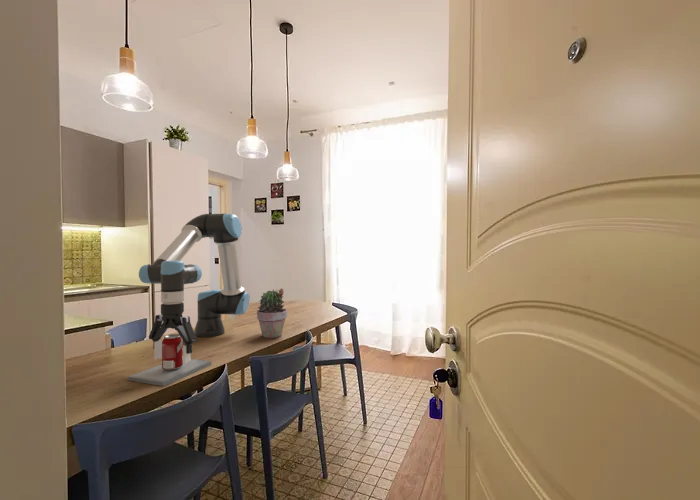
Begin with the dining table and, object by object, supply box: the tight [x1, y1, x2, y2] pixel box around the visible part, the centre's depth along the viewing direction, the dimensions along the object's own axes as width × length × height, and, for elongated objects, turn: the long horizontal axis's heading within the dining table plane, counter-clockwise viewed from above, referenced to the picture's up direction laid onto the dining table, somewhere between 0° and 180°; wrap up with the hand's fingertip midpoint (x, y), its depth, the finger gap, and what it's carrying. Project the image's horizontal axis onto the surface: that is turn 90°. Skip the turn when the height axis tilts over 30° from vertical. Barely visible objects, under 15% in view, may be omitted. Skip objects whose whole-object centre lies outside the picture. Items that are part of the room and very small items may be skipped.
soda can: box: [161, 333, 184, 371], centre depth 123 cm, size 7×7×12 cm
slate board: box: [127, 358, 212, 387], centre depth 123 cm, size 22×16×1 cm
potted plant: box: [253, 288, 288, 339], centre depth 175 cm, size 18×20×25 cm
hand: (172, 360), depth 123 cm, fingers open, 13 cm apart
